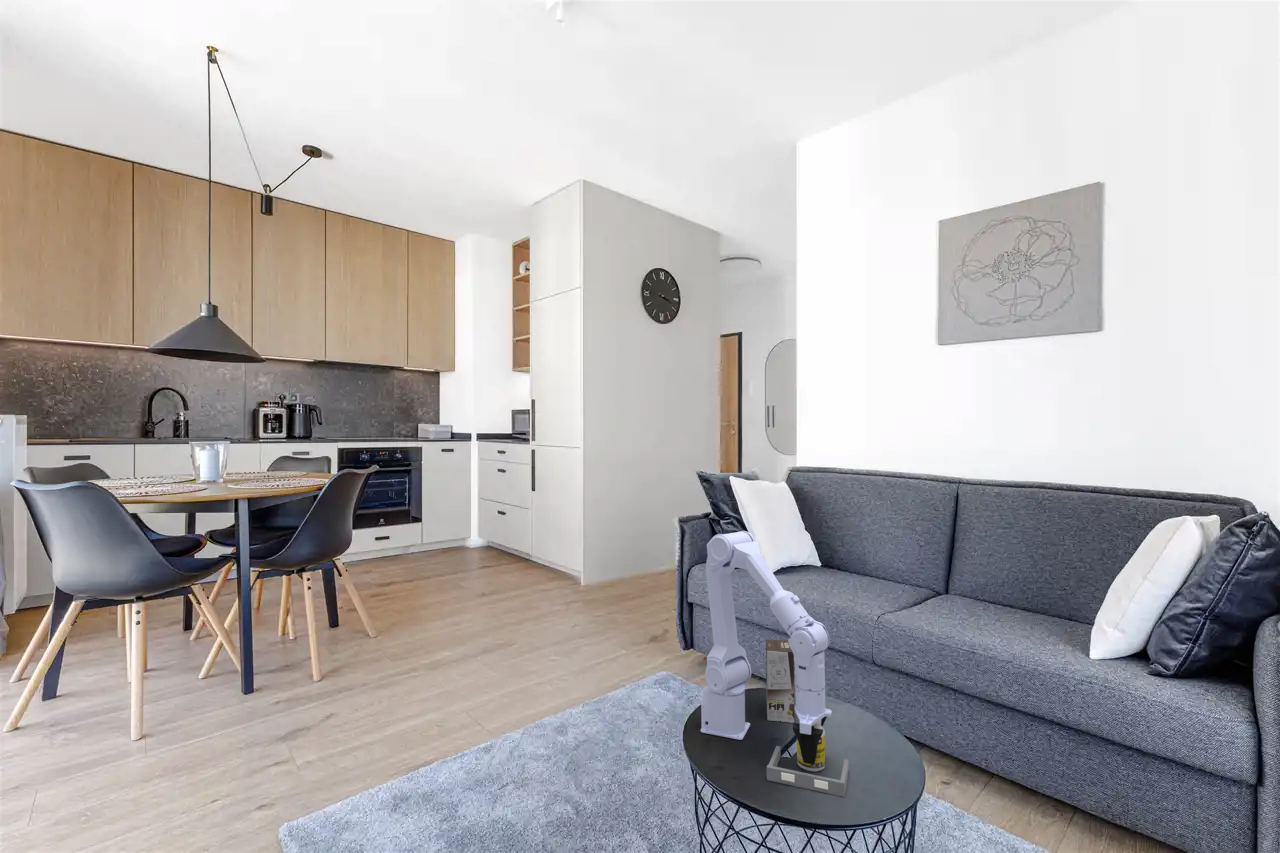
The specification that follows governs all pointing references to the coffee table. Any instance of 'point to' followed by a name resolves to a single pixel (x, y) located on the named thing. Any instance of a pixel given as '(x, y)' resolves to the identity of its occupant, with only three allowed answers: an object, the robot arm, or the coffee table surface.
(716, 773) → the coffee table surface
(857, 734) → the coffee table surface
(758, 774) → the coffee table surface
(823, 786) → the rail
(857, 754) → the coffee table surface
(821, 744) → the supplement bottle
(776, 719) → the coffee box
